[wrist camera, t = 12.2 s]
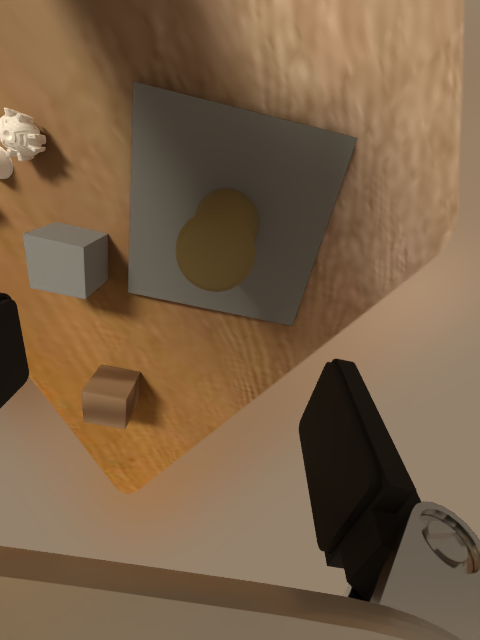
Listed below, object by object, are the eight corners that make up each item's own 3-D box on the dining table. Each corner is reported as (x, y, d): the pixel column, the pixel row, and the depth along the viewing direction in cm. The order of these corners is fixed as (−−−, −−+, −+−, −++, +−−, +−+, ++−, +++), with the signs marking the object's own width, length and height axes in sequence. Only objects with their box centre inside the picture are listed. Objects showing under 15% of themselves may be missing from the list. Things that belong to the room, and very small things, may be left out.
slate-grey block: (57, 221, 29) (22, 233, 25) (108, 233, 30) (83, 247, 25) (61, 269, 32) (30, 287, 27) (108, 279, 32) (85, 299, 28)
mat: (137, 84, 24) (133, 81, 23) (353, 138, 25) (357, 137, 24) (131, 288, 32) (127, 292, 31) (291, 321, 33) (292, 325, 33)
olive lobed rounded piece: (272, 228, 28) (282, 268, 18) (223, 267, 30) (209, 321, 20) (230, 172, 25) (217, 183, 16) (180, 218, 27) (141, 253, 18)
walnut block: (101, 364, 38) (81, 391, 33) (140, 371, 38) (126, 399, 34) (102, 392, 40) (83, 421, 36) (139, 399, 40) (125, 429, 36)
